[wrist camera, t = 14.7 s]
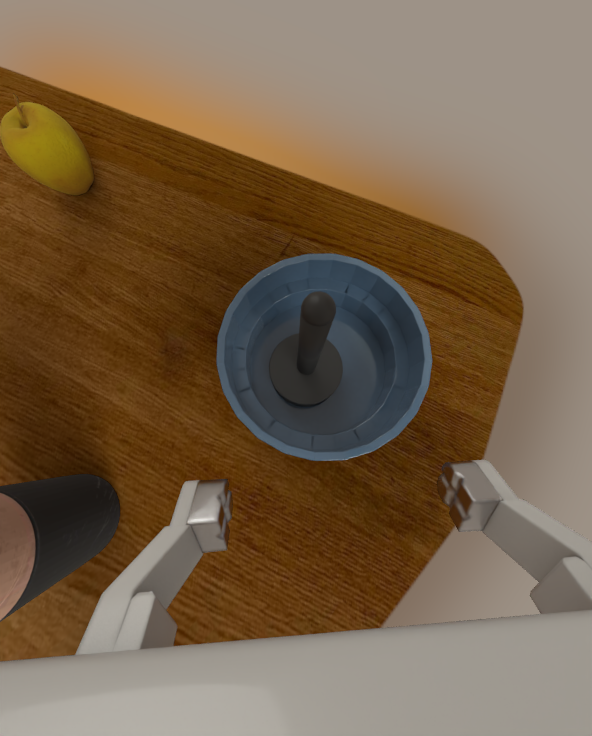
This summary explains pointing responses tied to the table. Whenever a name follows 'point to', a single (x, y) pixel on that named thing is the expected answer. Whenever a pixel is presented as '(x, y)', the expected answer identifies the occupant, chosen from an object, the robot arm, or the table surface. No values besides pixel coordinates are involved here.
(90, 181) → the yellow fruit
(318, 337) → the joystick
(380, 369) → the bowl
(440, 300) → the table surface
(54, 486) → the travel mug
